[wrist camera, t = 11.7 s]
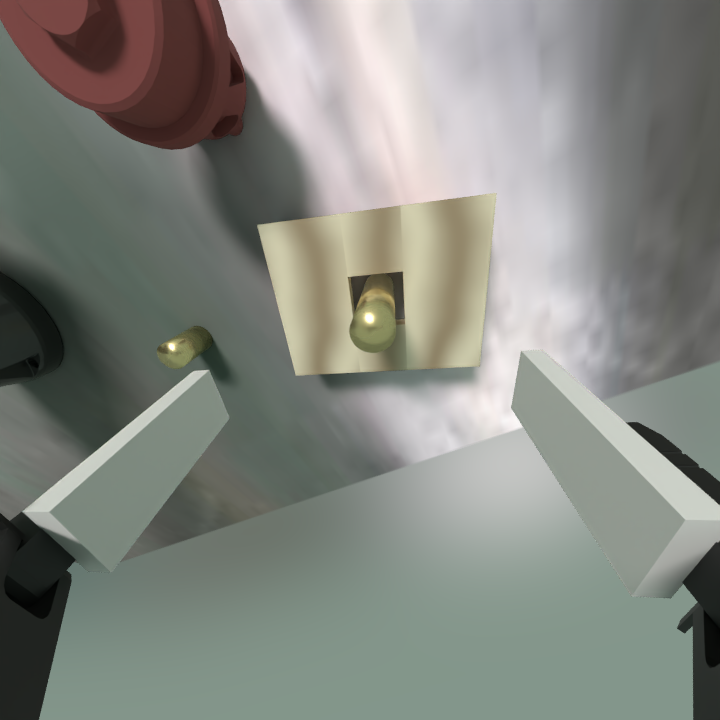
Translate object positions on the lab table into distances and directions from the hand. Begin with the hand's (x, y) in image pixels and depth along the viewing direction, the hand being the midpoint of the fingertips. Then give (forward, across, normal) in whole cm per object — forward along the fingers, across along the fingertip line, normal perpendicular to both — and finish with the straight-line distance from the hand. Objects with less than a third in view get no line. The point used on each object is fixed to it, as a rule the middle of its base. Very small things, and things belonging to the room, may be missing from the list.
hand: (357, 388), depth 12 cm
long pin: (+18, 0, 0) cm, 19 cm away
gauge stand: (+18, 0, 0) cm, 19 cm away
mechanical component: (+19, -12, +17) cm, 28 cm away
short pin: (+19, -22, -4) cm, 29 cm away
